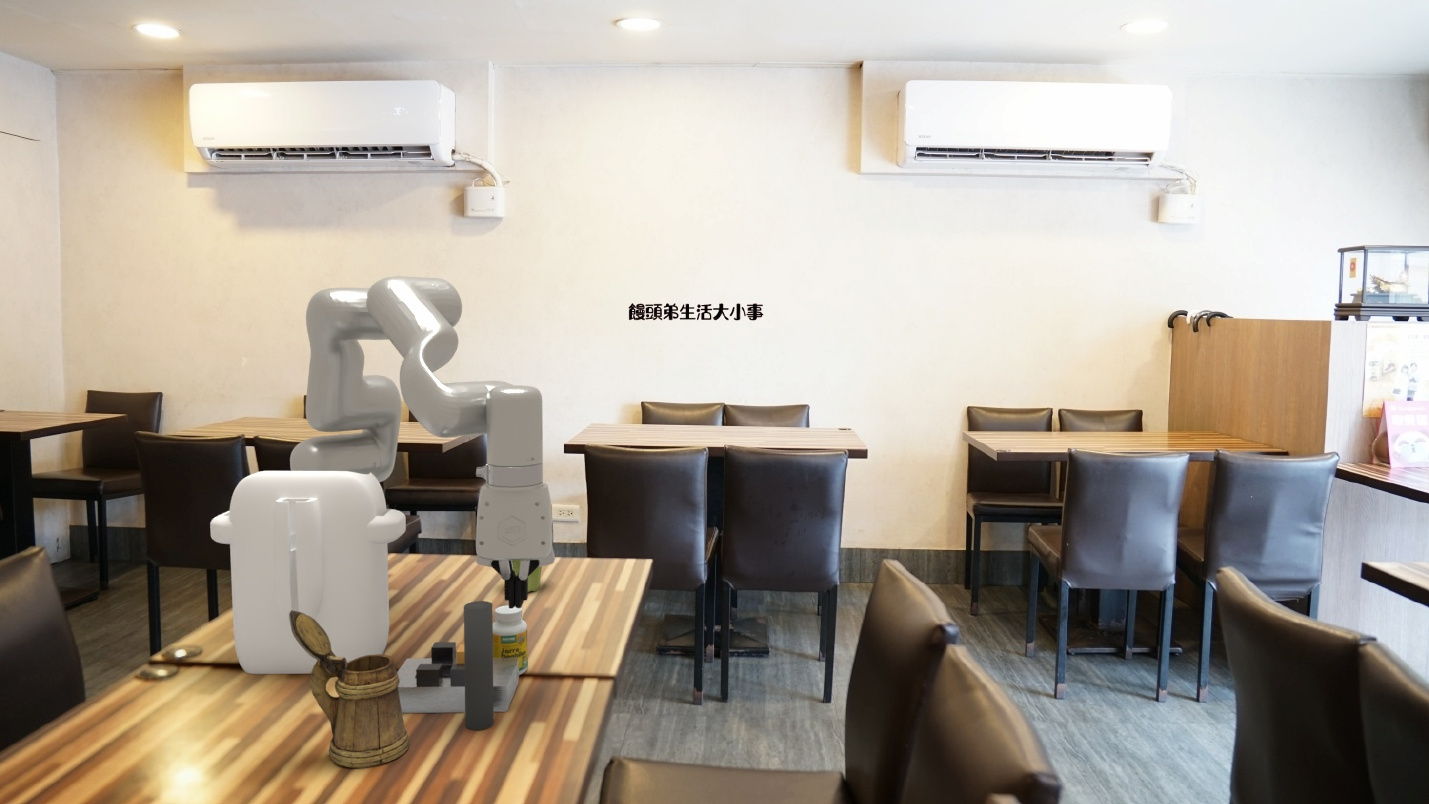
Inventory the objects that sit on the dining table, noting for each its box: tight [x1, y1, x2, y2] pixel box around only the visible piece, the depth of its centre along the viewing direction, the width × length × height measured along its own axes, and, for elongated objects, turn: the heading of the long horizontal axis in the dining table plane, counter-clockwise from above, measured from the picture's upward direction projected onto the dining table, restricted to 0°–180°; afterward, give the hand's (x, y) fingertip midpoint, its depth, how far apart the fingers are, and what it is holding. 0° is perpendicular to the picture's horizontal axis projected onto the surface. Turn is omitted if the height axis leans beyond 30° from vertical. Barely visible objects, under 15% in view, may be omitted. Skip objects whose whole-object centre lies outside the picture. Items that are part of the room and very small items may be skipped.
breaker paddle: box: [456, 643, 465, 664], centre depth 125 cm, size 3×3×3 cm
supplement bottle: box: [493, 604, 529, 676], centre depth 135 cm, size 5×5×10 cm
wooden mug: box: [289, 610, 410, 769], centre depth 109 cm, size 9×14×18 cm, turn 96°
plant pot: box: [512, 560, 543, 593], centre depth 174 cm, size 9×9×9 cm
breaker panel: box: [397, 641, 520, 714], centre depth 126 cm, size 16×10×6 cm, turn 93°
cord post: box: [463, 600, 495, 731], centre depth 117 cm, size 4×4×16 cm
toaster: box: [209, 470, 407, 675], centre depth 134 cm, size 27×11×30 cm, turn 94°
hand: (516, 605), depth 125 cm, fingers closed
